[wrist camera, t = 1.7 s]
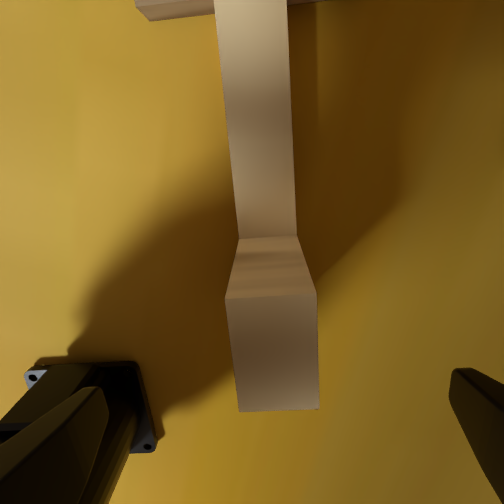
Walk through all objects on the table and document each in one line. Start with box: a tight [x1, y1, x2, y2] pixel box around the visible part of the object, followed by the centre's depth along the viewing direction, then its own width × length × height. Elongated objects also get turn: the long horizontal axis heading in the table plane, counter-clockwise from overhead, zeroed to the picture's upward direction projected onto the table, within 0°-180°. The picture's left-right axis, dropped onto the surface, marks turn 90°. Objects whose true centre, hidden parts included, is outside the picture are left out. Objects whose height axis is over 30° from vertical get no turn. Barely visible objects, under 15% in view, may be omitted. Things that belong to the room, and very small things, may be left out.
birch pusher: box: [135, 0, 326, 412], centre depth 11 cm, size 14×8×7 cm, turn 5°
